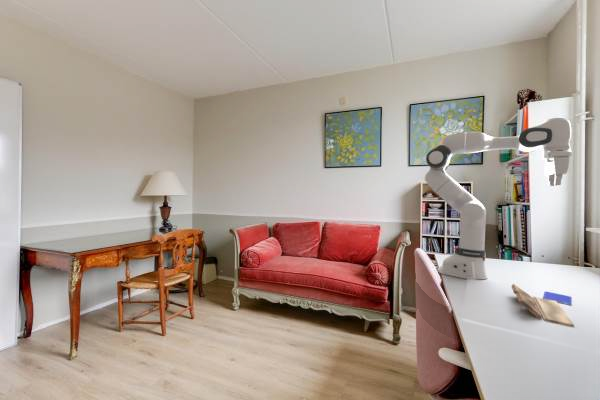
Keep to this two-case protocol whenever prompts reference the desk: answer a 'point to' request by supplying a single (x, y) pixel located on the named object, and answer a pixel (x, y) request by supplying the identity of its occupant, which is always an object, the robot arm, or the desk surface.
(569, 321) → the laid board
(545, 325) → the desk surface
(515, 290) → the plank
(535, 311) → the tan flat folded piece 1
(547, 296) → the hard drive
